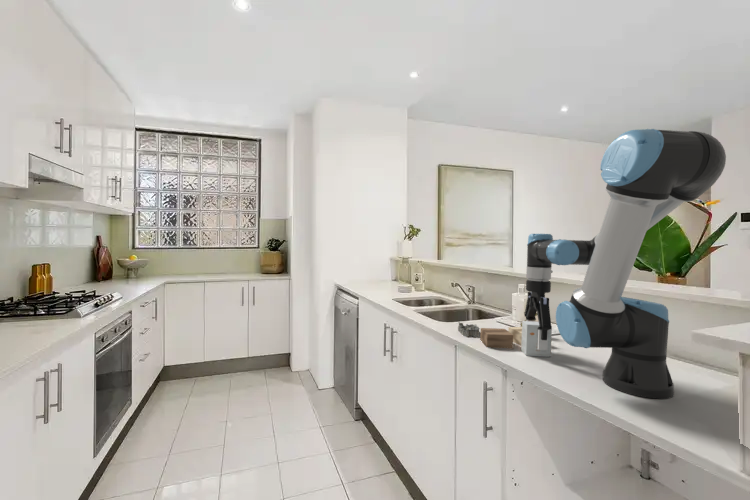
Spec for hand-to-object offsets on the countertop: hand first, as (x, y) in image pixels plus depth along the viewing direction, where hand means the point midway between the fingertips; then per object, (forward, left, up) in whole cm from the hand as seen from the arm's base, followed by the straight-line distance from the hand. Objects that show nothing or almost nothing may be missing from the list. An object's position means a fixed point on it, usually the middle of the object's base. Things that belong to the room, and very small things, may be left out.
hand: (535, 343), depth 121 cm
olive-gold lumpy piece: (+26, -6, -4) cm, 27 cm away
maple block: (+14, -1, -4) cm, 14 cm away
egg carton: (+23, +19, -4) cm, 30 cm away
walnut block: (+9, +11, -4) cm, 15 cm away
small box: (0, 0, -4) cm, 4 cm away
